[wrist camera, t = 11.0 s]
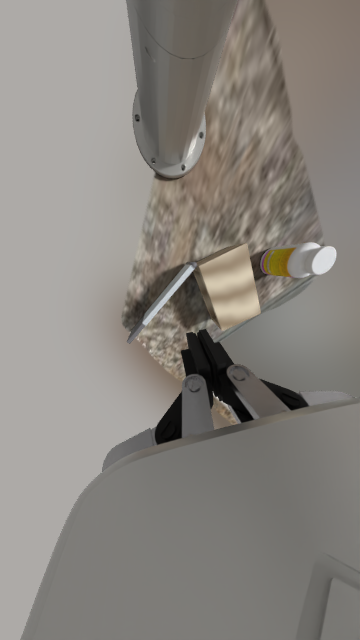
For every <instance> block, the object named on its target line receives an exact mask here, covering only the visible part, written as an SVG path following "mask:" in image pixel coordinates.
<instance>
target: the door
mask: <svg viewBox="0 0 360 640" xmlns="http://www.w3.org/2000/svg"><path fill="white" fill-rule="evenodd" d="M196 267H197V263H196V262H187V263H186V265H185V266H184V267H183V268H182V269H181V271H180V272H179V273H178V274H177V275H176V277H175V278H174V279H173V280H172V281H171V283H170V284H169V285H168V286H167V287H166V289H165V290H164V291H163V292H162V293H161V295H160V296H159V297H158V298H157V300H156V301H155V302H154V303H153V304H152V306H151V307H150V308H149V309H148V310H147V312H146V313H145V315H144V316H143V317H142V318H141V319H140V321H139V322H138V323H137V324H136V325H135V327H134V328H133V329H132V331H131V333H130V336H129V338H128V340H127V342H128V343H129V344H130V343H131V342H132V341H133V340H134V338H135V337H136V336H137V335H138V334H139V333H140V331H141V330H142V329H143V328H144V327H145V325H147V324H148V323H149V321H150V320H151V319H152V318H153V317H154V316H155V314H156V313H157V312H158V311H159V310H160V309H161V307H162V306H163V305H164V304H165V303H166V302H167V300H168V299H169V298H170V297H171V296H172V295H173V293H174V292H175V291H176V290H177V289H178V288H179V286H180V285H181V284H182V283H183V282H184V281H185V279H186V278H187V277H188V276H189V275H190V273H191V272H192V271H193V270H194V269H195V268H196Z"/></svg>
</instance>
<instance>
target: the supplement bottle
mask: <svg viewBox="0 0 360 640" xmlns="http://www.w3.org/2000/svg"><path fill="white" fill-rule="evenodd" d="M335 259H336V250H335V249H334V248H333V247H330V246H325V247H320V246H319V245H318V244H316V243H312V242H309V243H302V244H294V245H286V246H278V247H273V248H270V249H269V250H267V251H266V252H265V253H264V254H263V256H262V258H261V261H260V267H261V270H262V272H263V273H265V274H268V275H276V276H285V277H294V278H303V277H306V276H309V275H310V274H317V275H319V274H323V273H325V272H326V271H328V270H329V269H330V268H331V267H332V265H333V264H334V262H335Z"/></svg>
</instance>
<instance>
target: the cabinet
mask: <svg viewBox="0 0 360 640" xmlns="http://www.w3.org/2000/svg"><path fill="white" fill-rule="evenodd" d="M196 263H197V267H196V268H195V269H194V270H193V273H194V275H195V278H196V281H197V283H198V286H199V288H200V291H201V294H202V296H203V299H204V301H205V304H206V307H207V309H208V312H209V315H210V317H211V319H212V320H213V321H214V322H215V324H216V325H217V326H218V327H219V328H220V329H221V330H222V331H223V330H225V329H228V328H230V327H232V326H234V325H236V324H239V323H241V322H243V321H245V320H247V319H250V318H252V317H254V316H256V315H258V314H261V311H260V306H259V301H258V296H257V291H256V286H255V281H254V276H253V271H252V266H251V261H250V256H249V251H248V246H247V243H244V244H239V245H235V246H230V247H227V248H225V249H223V250H221V251H219V252H217V253H215V254H213V255H211V256H209V257H206V258H204V259H202V260H200V261H198V262H196Z"/></svg>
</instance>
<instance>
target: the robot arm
mask: <svg viewBox="0 0 360 640" xmlns="http://www.w3.org/2000/svg"><path fill="white" fill-rule="evenodd" d="M126 3H127V10H128V18H129V26H130V33H131V41H132V48H133V56H134V64H135V71H136V79H137V87H138V90H137V92H136V95H135V99H134V104H133V128H134V133H135V137H136V142H137V145H138V147H139V150H140V153H141V154H142V156H143V158H144V160H145V161H146V163H147V164H148V165H149V166H150V168H152V169H153V170H154V171H155V172H156V173H158V174H159V175H161V176H163V177H166V178H180V177H182V176H184V175H186V174H187V173H189V172H190V171H191V170H192V169H193V168H194V166H195V165H196V163H197V162H198V160H199V158H200V155H201V153H202V150H203V146H204V142H205V136H206V121H205V113H204V112H205V109H206V105H207V102H208V98H209V95H210V92H211V88H212V85H213V81H214V78H215V75H216V71H217V68H218V64H219V61H220V58H221V54H222V51H223V47H224V44H225V41H226V37H227V34H228V30H229V27H230V24H231V20H232V17H233V13H234V10H235V7H236V4H237V0H126ZM137 121H139V122H137ZM200 138H201V139H200ZM152 163H155V164H152ZM181 169H183V170H184V171H182V170H181ZM186 336H187V342H188V347H189V349H186V350H181V354H182V359H183V363H184V368H185V373H186V378H185V379H184V380H183V383H182V392H181V393H180V394H179V396H178V397H177V399H176V400H175V401H174V402H173V404H172V405H171V407H170V408H169V409H168V411H167V412H166V413H165V415H164V416H163V418H162V419H161V420H160V422H159V423H158V425H157V427H155V428H153V429H150V428H149V429H147V430H145V431H143V432H141V433H139V434H138V435H136V436H134V437H132V438H130V439H128V440H126V441H124V442H122V443H120V444H119V445H117V446H115V447H114V448H112V449H111V451H110V452H109V453H108V454H107V456H106V458H105V460H104V463H103V468H102V473H100V474H99V475H98V476H97V477H96V478H95V479H94V480H93V481H92V482H91V483H90V484H89V485H88V486H87V488H85V489H84V491H83V492H82V493H81V495H80V496H79V498H78V499H77V501H76V503H75V504H74V506H73V508H72V510H71V512H70V514H69V516H68V518H67V520H66V522H65V525H64V527H63V529H62V532H61V534H60V536H59V539H58V541H57V544H56V546H55V549H54V551H53V553H52V556H51V559H50V562H49V564H48V567H47V569H46V572H45V574H44V577H43V580H42V582H41V585H40V587H39V590H38V593H37V596H36V598H35V601H34V604H33V607H32V609H31V612H30V615H29V618H28V621H27V623H26V626H25V629H24V631H23V634H22V637H21V640H360V397H357V398H355V397H353V396H351V395H349V394H347V393H344V392H339V391H299V393H295V392H293V391H291V390H289V389H286V388H283V387H281V386H278V385H275V384H273V383H269V382H267V381H264V380H262V379H259V378H258V377H256V376H255V374H254V373H253V372H251V370H250V369H248V368H247V367H245V366H243V365H240V364H234V363H233V362H232V360H231V359H230V357H229V356H228V354H227V353H226V351H225V350H224V348H223V347H222V345H221V344H220V342H217V343H214V342H213V340H212V338H211V337H210V335H209V333H208V332H207V330H206V329H203V330H199V332H198V333H197V336H198V338H197V336H196V333H193V332H190V333H186ZM213 393H214V395H215V397H217V396H218V398H219V401H223V402H224V403H226V404H228V407H229V409H230V411H231V413H232V414H233V416H234V417H235V419H236V421H237V422H238V424H236V425H232V426H228V427H224V428H220V429H216V430H214V426H213V420H212V415H211V408H212V406H213Z"/></svg>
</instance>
